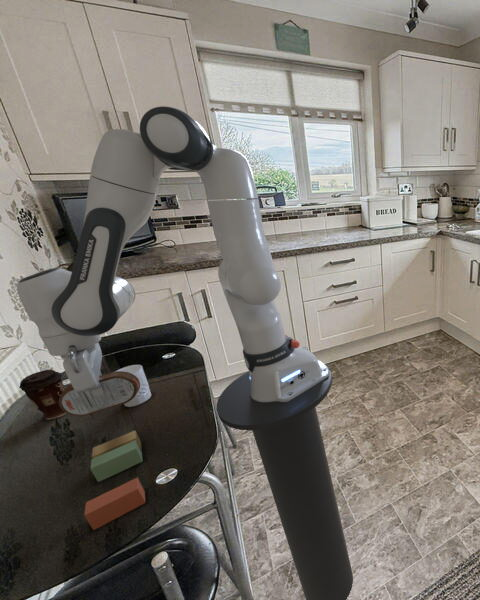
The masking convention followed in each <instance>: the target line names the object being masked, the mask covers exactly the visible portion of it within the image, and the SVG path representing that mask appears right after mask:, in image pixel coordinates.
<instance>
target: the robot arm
mask: <svg viewBox="0 0 480 600" xmlns="http://www.w3.org/2000/svg"><path fill="white" fill-rule="evenodd" d="M167 170H169V171H185V172H195V173H197V174H198V175H199V177H200V178H201V181H202V183H203V187H204V190H205V196H206V200H207V206H208V212H209V216H210V220H211V221H210V222H211V225H212V230H213V235H214V238H215V240H216V242H217V246H218V249H219V252H220V255H221V258H222V261H221V262H220V264H219V265H218V269H217V270H218V271H217V275H218V279H219V282H220V285H221V288H222V292H223V294H224V297H225V299H226V302H227V305H228V307H229V310H230V313H231V315H232V317H233V319H234V322H235V325H236V328H237V331H238V334H239V339H240V342H241V345H242V348H243V349H242V353H243V354H242V355H243V360H244V364H245V366H246V369H247V370H248V372H249V373H250V381H251V393H250V395H251V397H252V399H254V400H255V401H258V402H274V401H279V402H288V401H290V400H292V399H293V398H295V397H296V396H298V395H300V394H301V393H303V392H304V391H306V390H308V389H309V388H311V387H312V386H314V385H316V384H317V383H319V382H321V381H322V380H324V379H325V378H327V377H328V376H329V371H328V368H329V367H328V366H327V365H326V364H325V363H324V362H322V361H321V360H319V359H318V358H317V357H316V356H315V354H314V353H313V352H311V350H309V348H308V347H307V346H303V347H300V344H301V343H300V342H299V341H298V340H297V339H294V338H292V337H291V336H288V335H286V333H285V330H284V326H283V321H282V318H281V314H280V311H279V310H278V308H277V306H276V304H275V301H274V300H276V298H277V297H278V295H279V294H280V291H281V287H282V282H281V279H280V276H279V274H278V273H277V270H276V267H275V263H274V260H273V256H272V253H271V250H270V247H269V244H268V242H267V238H266V233H265V230H264V225H263V220H262V213H261V209H260V207H261V206H260V202H259V195H258V189H257V186H256V185H257V184H256V182H255V181H256V180H255V177H254V175H253V171H252V168H251V166H250V162H249V161H248V159H247V157H246V156H245V155H244V154H243V153H241V152H240V151H238V150H235V149H231V148H226V147H225V148H224V147H217V146H216V145H214V144H213V141H212V139H211V138H210V136H209V135H208V133H207V132H206V130H205V129H204V128H203V126H202V125H201V124H200V123H199V122H198V121H196V120H195V119H194V118H192V117H191V115H189V114H188V113H186V112H184V111H182V110H181V109H179V108H175V107H171V106H164V105H163V106H155V107H152V108H150V109H149V110H147V111H146V112H145V113H144V114H143V115H142V117H141V119H140V122H139V132H135V131H133V130H129V129H125V128H124V129H123V128H115V129H113V128H112V129H109V130H107V131H105V132H104V134H103V135H102V137H101V139H100V142H99V143H98V146H97V148H96V150H95V153H94V156H93V160H92V164H91V169H90V175H89V180H88V187H87V189H88V190H87V196H86V207H85V211H84V217H83V218H84V219H83V225H82V230H81V233H80V237H79V241H78V245H77V248H76V249H77V250H76V253H75V258H74V261H73V265H72V270H71V271H70V270H67V269H65V268H63V267H53V268H48V269H45V270H41V271H39V272H36V273H34V274H30V275H27V276H26V277H23V278H22V279H20V280H19V281H18V283H17V285H16V291H17V295H18V297H19V300H20V302H21V304H22V307H23V308H24V311H25V312H26V314H27V316H28V318H29V319H30V320H31V321H32V322H33V323H34V324H35V325H36V326H37V329H38V335H39V337H40V339H41V341H42V343H43V344H44V346H45V348H46V350H47V351H48V353H49V355H50V356H52V357H60V358H61V360H63V361H62V366H63V369H64V372H65V375H66V377H67V378H68V379H69V383H70V385H71V384H72V386H73V388H74V390H75V391H76V392H77V393H82V392H85V391H88V390H91V391H92V393H93V395H94V396H98V395H101V394H103V392H104V389H103V387H102V385H100V383H99V376H101V375H103V373H102V370H101V368H102V361H103V353H102V349H101V346H100V343H99V342H100V341H101V340H102V336H101V335H103V334H106V333H108V332H109V331H110V330H112V328H114V326H115V325H116V324H117V322H118V321H119V319H121V317H122V316H123V315H125V313H126V312H127V311H128V310H129V309H130V307H131V306H132V305H133V303H135V300H136V291H135V288H134V287H133V285H132V284H131V282H129V281H128V280H126V279H124V278H123V277H120V276H118V275H117V271H118V267H119V263H120V258H121V255H122V252H123V249H124V248H125V246H126V244H127V242H128V241H129V240H130V239H131V238H132V237H133V235H134V234H135V233H137V232H138V231H139V230H140V229H141V228H142V227H143V226H144V225H146V224H147V222H149V221H148V220H149V218H150V216H151V214H152V213H153V210H154V208H155V203H156V199H157V194H158V189H159V184H160V180H161V177H162V175H163V173H164V172H166V171H167ZM326 366H327V367H328V368H327V367H326Z"/></svg>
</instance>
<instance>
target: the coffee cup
mask: <svg viewBox="0 0 480 600" xmlns="http://www.w3.org/2000/svg"><path fill="white" fill-rule="evenodd" d="M62 377H63V373H61V372H59V371H56V370H54V369H45V370H40V371H36V372H34V373H31V374H29V375H27V376H26V377H24V378H22V379H21V380H20V382H19V386H18V388H19V389H20V390H21V391H22V392H24V393H25V396H26V397H27V398H28V399H29V401H30V402H31V403H32V404H33V406H34V407H35V408H36V410H38V411H39V412H41V413H42V414H43V418H44V419H45V420H53V419H58V418H61V417H63V416H65V415H68V414H67V413H66V412H64V411H63V410H62V409H61V408H60V406H59V398H60V396H61V394H62V393H63V391H64V389H65V388H66V387H65V384H64V383H63V380H62Z"/></svg>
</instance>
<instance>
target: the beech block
mask: <svg viewBox="0 0 480 600" xmlns="http://www.w3.org/2000/svg"><path fill="white" fill-rule="evenodd" d="M135 440H136V442H137V444H138V446H139V448H140V450H141V452H142V451H143V449H142V447H143V445H142V441H141V439H140V437H139V435H138V432H137V431H136V430H132V431H130V432H128V433H125V434H123V435H121V436H119V437H115V438H113V439H111V440H109V441H105V442H104V443H102V444H98V445H96V446H94V447H92V453H91V459H93V458H96V457H98V456H100V455H103V454H105V453H107V452H110V451H112V450H114V449H116V448H119V447H121V446H123V445H126V444H128V443H130V442H133V441H135Z"/></svg>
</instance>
